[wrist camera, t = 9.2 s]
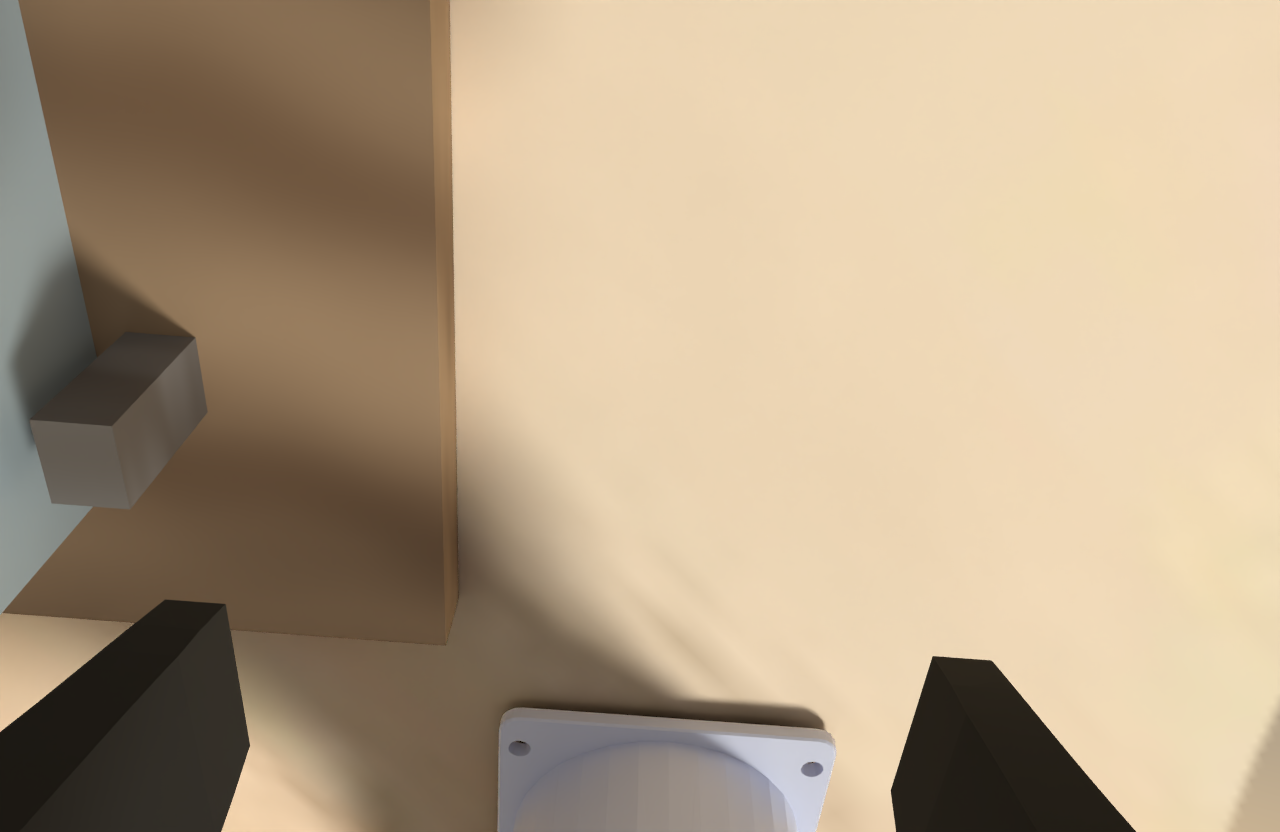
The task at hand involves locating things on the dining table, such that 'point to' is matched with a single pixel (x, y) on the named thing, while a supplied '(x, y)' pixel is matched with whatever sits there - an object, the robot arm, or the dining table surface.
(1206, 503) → the dining table surface
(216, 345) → the plinth
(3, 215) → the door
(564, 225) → the dining table surface
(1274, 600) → the dining table surface
